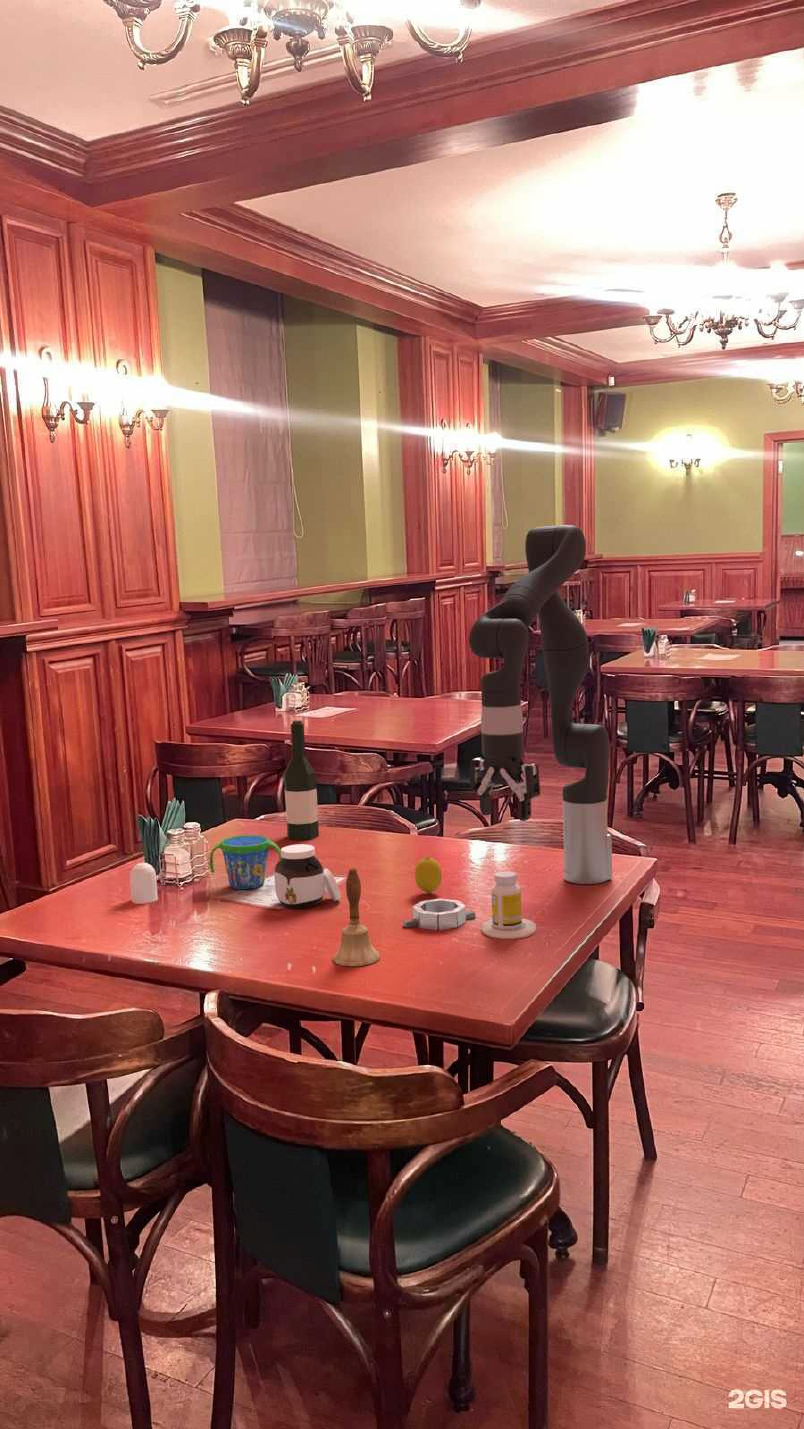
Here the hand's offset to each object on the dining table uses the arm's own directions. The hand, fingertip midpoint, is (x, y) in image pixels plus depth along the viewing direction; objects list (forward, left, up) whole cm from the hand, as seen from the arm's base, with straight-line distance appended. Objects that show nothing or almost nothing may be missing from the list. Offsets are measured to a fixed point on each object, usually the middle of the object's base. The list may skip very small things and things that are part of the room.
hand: (505, 817), depth 202 cm
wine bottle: (+19, -90, -22) cm, 94 cm away
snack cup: (+40, -51, -22) cm, 68 cm away
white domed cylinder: (+62, -50, -22) cm, 83 cm away
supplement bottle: (0, 0, -21) cm, 21 cm away
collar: (+10, -10, -21) cm, 26 cm away
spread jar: (+30, -33, -22) cm, 50 cm away
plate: (0, 0, -21) cm, 21 cm away
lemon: (+6, -28, -22) cm, 36 cm away
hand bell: (+30, +3, -22) cm, 37 cm away
